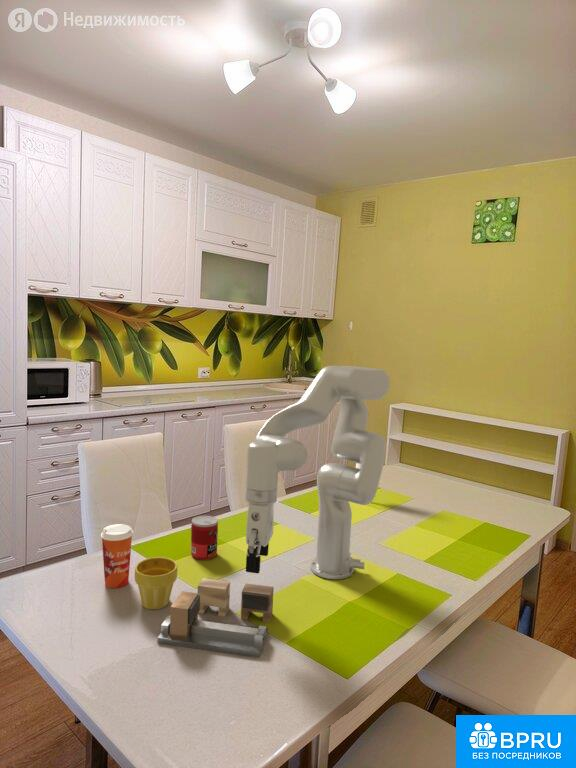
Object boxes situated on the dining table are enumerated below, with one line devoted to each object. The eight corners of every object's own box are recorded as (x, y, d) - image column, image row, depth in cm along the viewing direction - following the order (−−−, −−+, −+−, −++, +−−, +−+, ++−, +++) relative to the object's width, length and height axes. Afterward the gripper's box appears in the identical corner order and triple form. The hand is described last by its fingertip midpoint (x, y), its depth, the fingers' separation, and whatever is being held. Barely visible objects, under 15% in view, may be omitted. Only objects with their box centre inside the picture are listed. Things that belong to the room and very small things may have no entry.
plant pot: (178, 611, 131) (179, 573, 129) (134, 616, 128) (135, 577, 126) (175, 590, 140) (175, 554, 139) (134, 594, 137) (134, 558, 136)
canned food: (212, 562, 157) (213, 526, 156) (186, 558, 159) (187, 523, 158) (220, 551, 165) (221, 517, 164) (196, 548, 166) (196, 514, 165)
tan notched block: (203, 603, 135) (203, 576, 134) (229, 606, 134) (230, 580, 133) (197, 612, 130) (197, 585, 129) (224, 616, 129) (225, 589, 128)
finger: (244, 610, 132) (245, 583, 132) (272, 613, 131) (273, 586, 131) (240, 620, 128) (241, 592, 127) (268, 623, 127) (269, 596, 126)
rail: (267, 633, 123) (268, 600, 122) (259, 657, 114) (260, 621, 113) (172, 620, 127) (173, 587, 126) (157, 642, 118) (157, 607, 117)
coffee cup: (103, 592, 138) (103, 537, 136) (98, 578, 145) (98, 525, 143) (136, 586, 141) (136, 532, 140) (130, 573, 149) (130, 521, 147)
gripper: (269, 507, 117) (265, 581, 119) (282, 485, 134) (279, 550, 136) (236, 503, 118) (232, 577, 120) (253, 482, 135) (250, 547, 137)
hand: (257, 563), depth 128 cm, fingers open, 9 cm apart
